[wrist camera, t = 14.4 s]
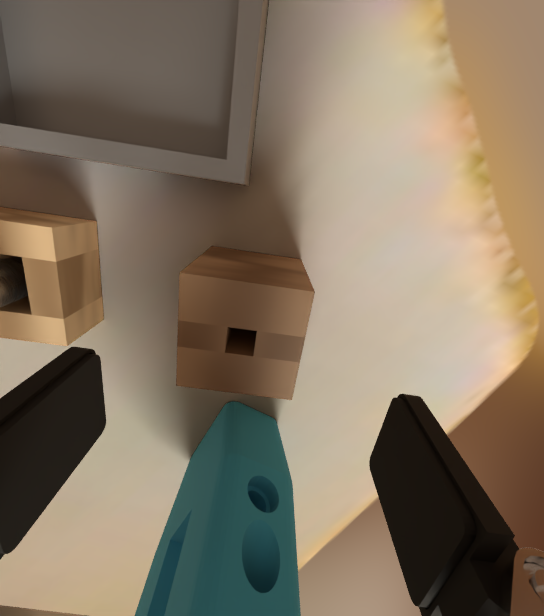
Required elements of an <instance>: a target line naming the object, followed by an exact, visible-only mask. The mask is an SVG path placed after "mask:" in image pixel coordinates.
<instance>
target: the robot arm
mask: <svg viewBox="0 0 544 616" xmlns="http://www.w3.org/2000/svg"><path fill="white" fill-rule="evenodd" d="M105 425H106V415H105V404H104V393H103V382H102V371H101V360H100V357H99V355H96V353H95V351H94V350H92V349H87V348H80V347H71V348H69V349H68V350H66V351H65V352H64V353H62V354H61V355H59V356H58V357H57V358H55V359H54V360H53V361H51V362H50V363H48V364H47V365H46V366H44V367H43V368H42V369H40V370H39V371H37V372H36V373H35V374H33V375H32V376H31V377H29V378H28V379H26V380H25V381H24V382H22V383H21V384H20V385H18V386H17V387H15V388H14V389H13V390H11V391H10V392H9V393H7V394H6V395H4V396H3V397H2V398H0V559H1V558H2V557H3V555H4V554H8V553H10V552H11V551H13V550H14V549H15V548H16V546H17V545H18V544H19V543H20V541H21V540H22V539H23V537H24V536H25V535H26V533H27V532H28V531H29V529H30V528H31V527H32V525H33V524H34V523H35V521H36V520H37V519H38V517H39V516H40V515H41V514H42V512H43V511H44V510H45V508H46V507H47V506H48V504H49V503H50V502H51V500H52V499H53V498H54V496H55V495H56V494H57V492H58V491H59V490H60V488H61V487H62V486H63V484H64V483H65V482H66V480H67V479H68V478H69V476H70V475H71V474H72V472H73V471H74V470H75V468H76V467H77V466H78V464H79V463H80V462H81V460H82V459H83V458H84V456H85V455H86V454H87V452H88V451H89V450H90V448H91V447H92V446H93V444H94V443H95V442H96V440H97V439H98V438H99V436H100V435H101V434H102V432H103V430H104V428H105ZM370 471H371V474H372V477H373V480H374V484H375V487H376V490H377V493H378V496H379V499H380V503H381V506H382V509H383V512H384V515H385V518H386V522H387V525H388V528H389V531H390V534H391V537H392V541H393V544H394V547H395V550H396V553H397V556H398V559H399V563H400V566H401V569H402V572H403V575H404V578H405V582H406V585H407V588H408V591H409V595H410V597H411V600H412V602H413V603H414V605H415V606H418V607H419V609H420V612H421V615H422V616H544V552H543V551H540V550H537V549H534V548H522V549H519V548H518V546H517V545H516V543H515V542H514V540H513V538H514V536H515V535H514V534H513V532H512V531H511V529H510V528H509V527H508V525H507V524H506V522H505V521H504V519H503V518H502V516H501V515H500V513H499V512H498V510H497V509H496V507H495V506H494V504H493V503H492V501H491V500H490V499H489V497H488V496H487V494H486V493H485V491H484V490H483V488H482V487H481V485H480V484H479V482H478V481H477V479H476V478H475V476H474V475H473V473H472V472H471V470H470V469H469V467H468V466H467V464H466V463H465V461H464V460H463V459H462V457H461V456H460V454H459V453H458V451H457V450H456V448H455V447H454V445H453V444H452V442H451V441H450V439H449V438H448V436H447V435H446V433H445V432H444V430H443V429H442V427H441V426H440V424H439V423H438V422H437V420H436V419H435V417H434V416H433V414H432V413H431V411H430V410H429V408H428V407H427V405H426V404H425V402H424V401H423V399H422V398H421V397H419V396H413V395H406V394H400V395H399V396H398V397H397V398H393V399H392V401H391V404H390V406H389V409H388V412H387V414H386V417H385V420H384V422H383V425H382V428H381V430H380V433H379V436H378V438H377V441H376V443H375V446H374V449H373V451H372V454H371V457H370ZM0 616H87V615H78V614H70V613H61V612H53V611H44V610H36V609H27V608H19V607H10V606H2V605H0Z"/></svg>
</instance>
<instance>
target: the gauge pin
mask: <svg viewBox="0 0 544 616" xmlns="http://www.w3.org/2000/svg"><path fill="white" fill-rule="evenodd" d="M27 296H28V290H27V284H26V278H25V273H24V267H23V261H22V257H18V256H12V257H8V258H4V259H0V307H2V306H5V305H7V304H10V303H12V302H15V301H17V300H19V299H22V298H24V297H27Z"/></svg>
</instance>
